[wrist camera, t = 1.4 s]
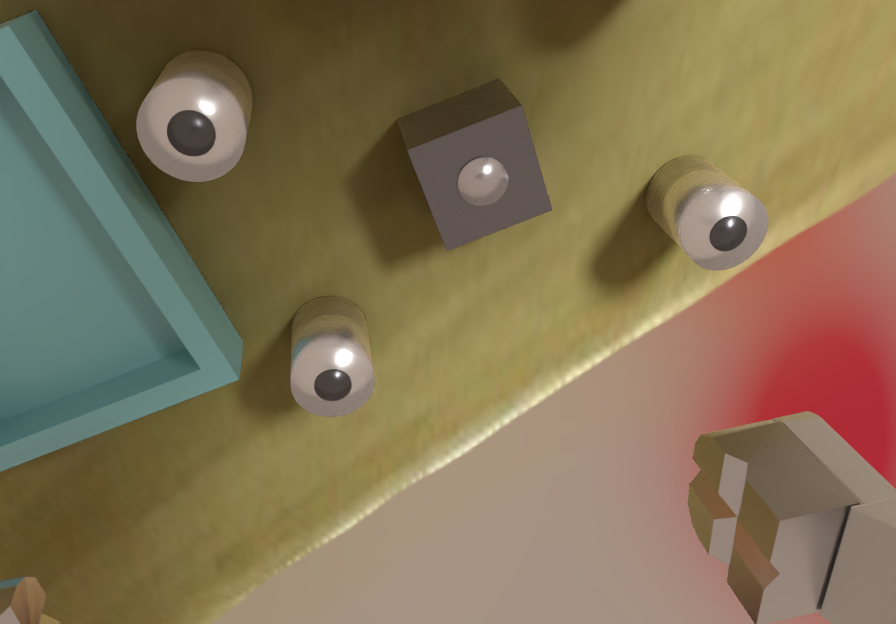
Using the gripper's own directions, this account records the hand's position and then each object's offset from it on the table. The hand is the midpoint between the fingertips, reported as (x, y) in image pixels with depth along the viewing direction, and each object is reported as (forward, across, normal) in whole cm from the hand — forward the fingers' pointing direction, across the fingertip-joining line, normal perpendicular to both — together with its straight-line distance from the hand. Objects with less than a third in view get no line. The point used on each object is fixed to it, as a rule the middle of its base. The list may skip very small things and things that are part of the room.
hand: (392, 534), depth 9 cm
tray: (+25, +13, +6) cm, 29 cm away
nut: (+24, -6, +4) cm, 25 cm away
